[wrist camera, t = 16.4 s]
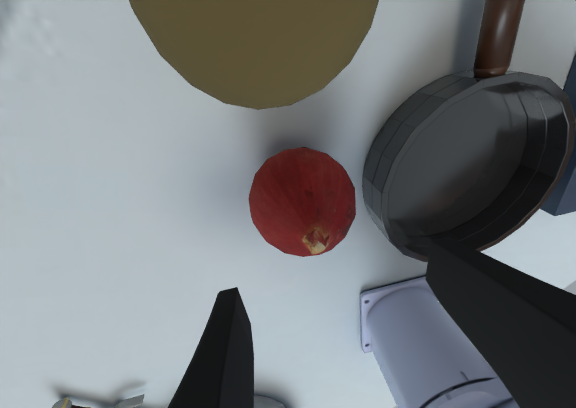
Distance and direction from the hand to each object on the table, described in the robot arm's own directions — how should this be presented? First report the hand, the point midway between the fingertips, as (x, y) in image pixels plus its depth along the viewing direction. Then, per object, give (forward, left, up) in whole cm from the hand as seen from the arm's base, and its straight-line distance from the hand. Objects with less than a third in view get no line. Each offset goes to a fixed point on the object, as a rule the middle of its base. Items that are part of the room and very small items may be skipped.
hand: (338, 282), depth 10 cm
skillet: (-2, -11, -10) cm, 15 cm away
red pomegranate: (0, 0, -10) cm, 10 cm away
